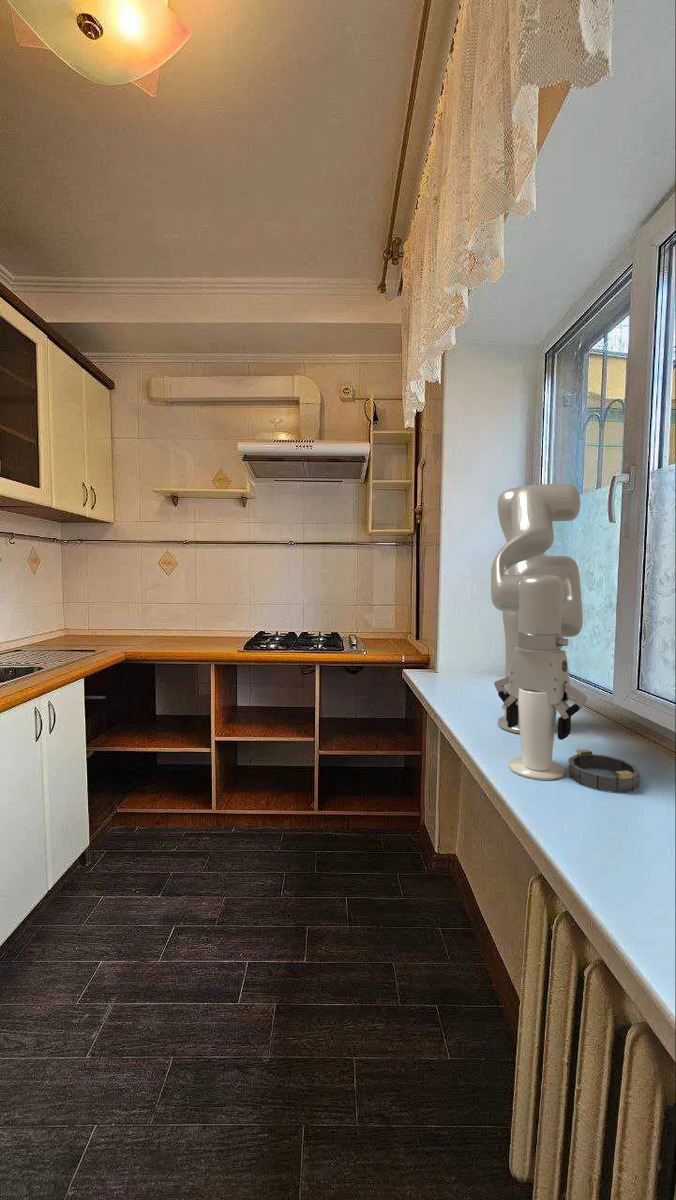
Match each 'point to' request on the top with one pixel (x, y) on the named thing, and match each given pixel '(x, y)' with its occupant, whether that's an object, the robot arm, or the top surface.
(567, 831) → the top surface
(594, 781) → the collar
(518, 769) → the disc
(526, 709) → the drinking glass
